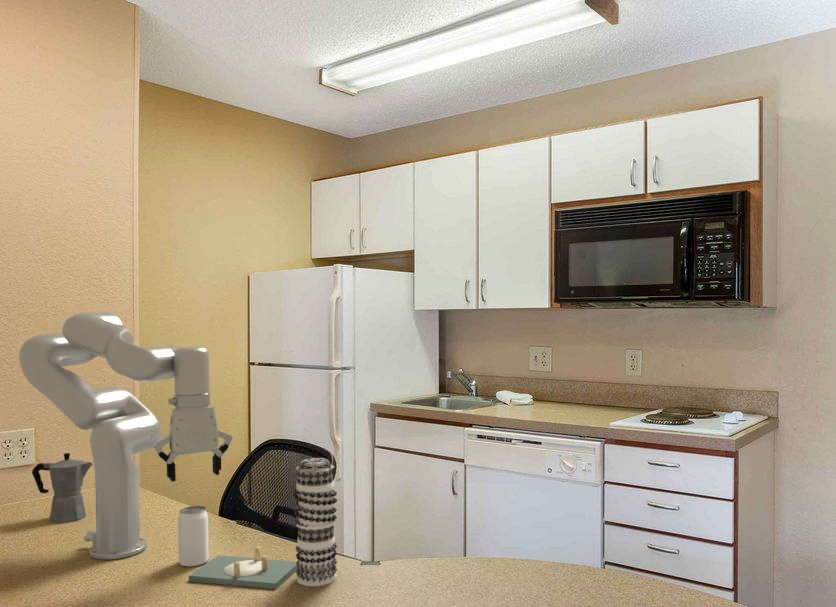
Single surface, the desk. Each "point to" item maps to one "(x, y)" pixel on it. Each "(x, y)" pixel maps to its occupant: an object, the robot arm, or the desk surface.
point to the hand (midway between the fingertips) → (194, 477)
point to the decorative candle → (315, 522)
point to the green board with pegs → (245, 571)
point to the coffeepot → (64, 488)
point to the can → (193, 536)
